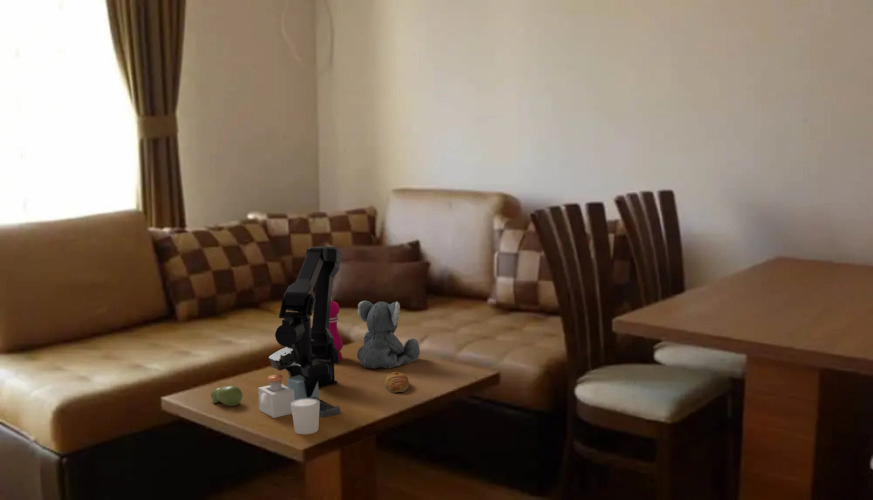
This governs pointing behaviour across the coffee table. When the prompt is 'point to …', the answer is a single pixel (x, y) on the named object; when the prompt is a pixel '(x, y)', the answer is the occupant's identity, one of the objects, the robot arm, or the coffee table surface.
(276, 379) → the button
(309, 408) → the shot glass
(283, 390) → the cabinet
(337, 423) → the coffee table surface
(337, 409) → the rail
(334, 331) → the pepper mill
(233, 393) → the green eggplant
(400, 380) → the pastry
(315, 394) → the block
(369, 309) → the koala plush
